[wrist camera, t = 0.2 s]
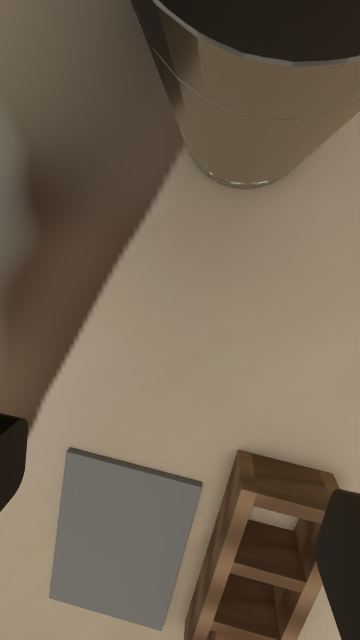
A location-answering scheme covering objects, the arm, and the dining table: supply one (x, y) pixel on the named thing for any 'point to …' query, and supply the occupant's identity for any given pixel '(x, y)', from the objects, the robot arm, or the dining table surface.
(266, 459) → the stand
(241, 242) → the dining table surface
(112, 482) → the mat
